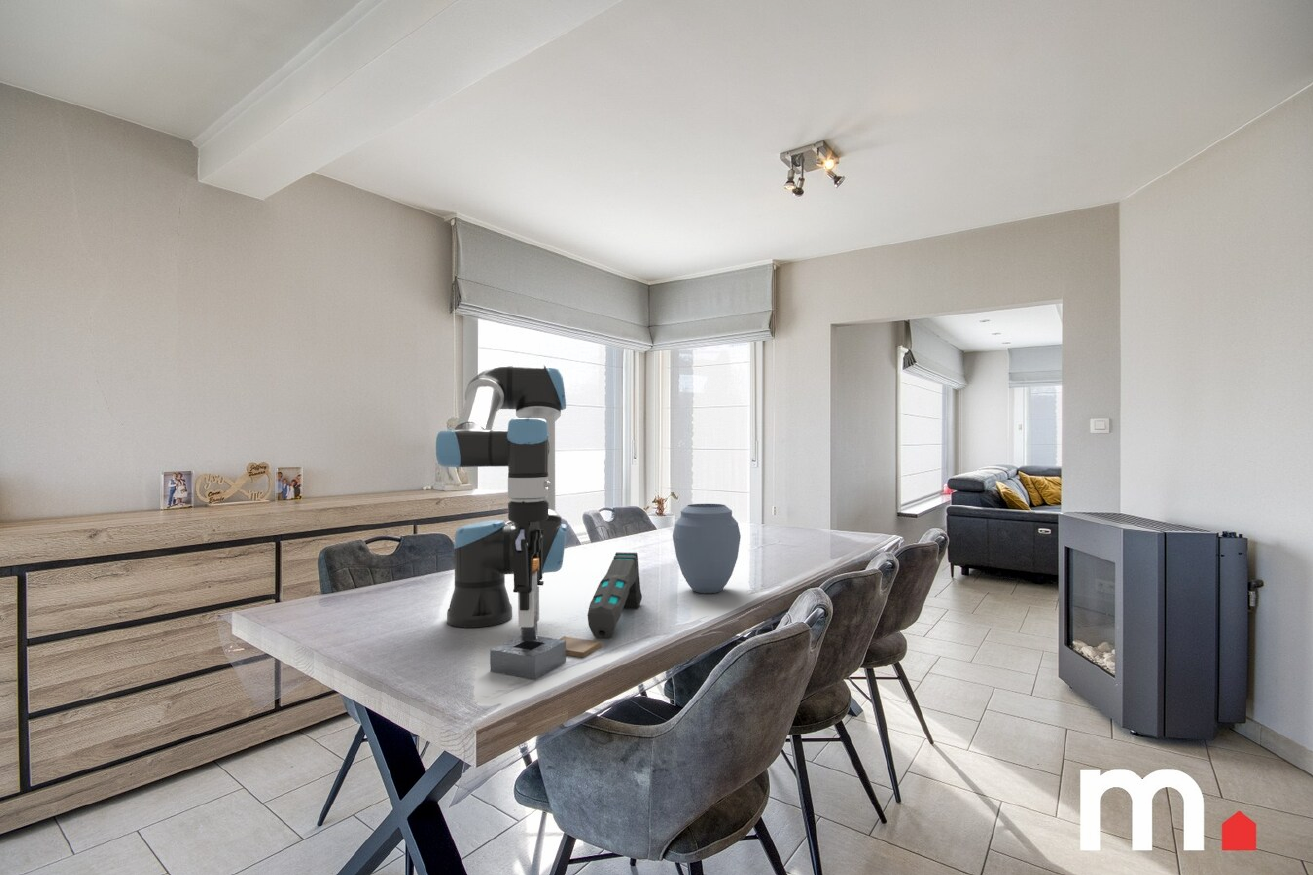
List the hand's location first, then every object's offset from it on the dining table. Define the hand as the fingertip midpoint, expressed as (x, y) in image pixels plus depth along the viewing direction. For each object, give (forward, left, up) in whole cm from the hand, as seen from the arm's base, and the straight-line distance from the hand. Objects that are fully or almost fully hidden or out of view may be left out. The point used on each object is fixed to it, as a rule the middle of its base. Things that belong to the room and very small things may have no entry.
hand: (529, 623), depth 113 cm
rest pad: (+3, +11, -8) cm, 14 cm away
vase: (+11, +69, -8) cm, 70 cm away
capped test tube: (0, 0, -3) cm, 3 cm away
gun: (+1, +33, -8) cm, 34 cm away
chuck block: (0, 0, -8) cm, 8 cm away
